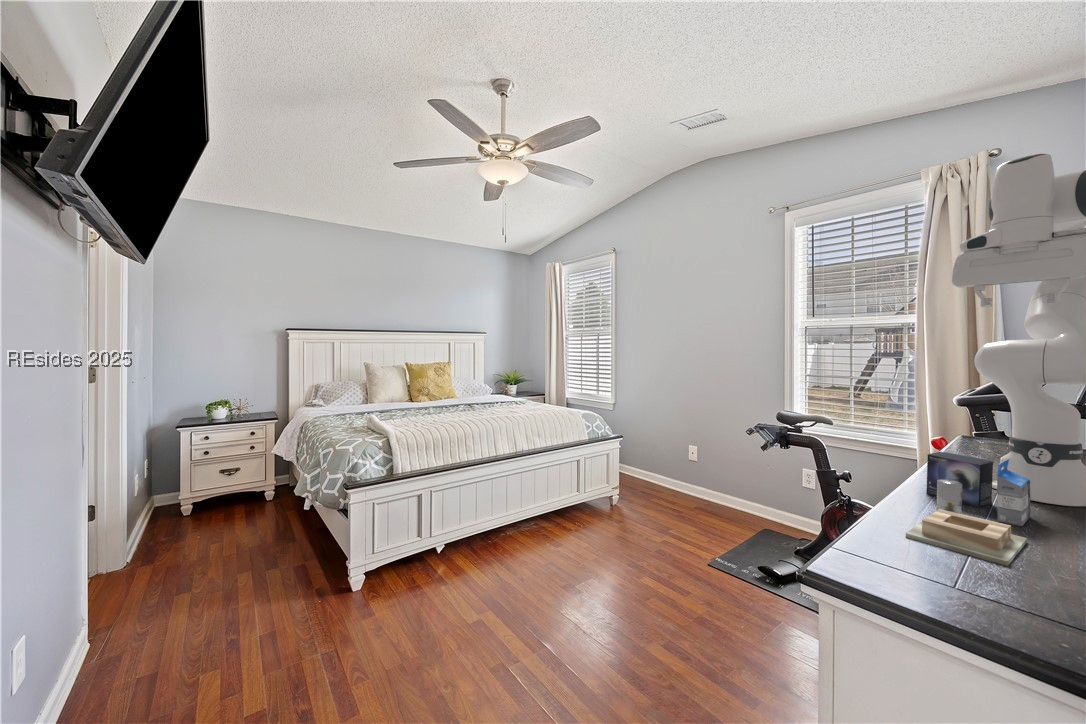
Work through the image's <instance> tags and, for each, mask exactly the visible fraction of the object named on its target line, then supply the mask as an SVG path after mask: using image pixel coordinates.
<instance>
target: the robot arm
mask: <svg viewBox="0 0 1086 724" xmlns="http://www.w3.org/2000/svg"><path fill="white" fill-rule="evenodd" d="M1052 158H1053V157H1052V156H1051V154H1049V153H1038V154H1031V155H1028V156H1027V155H1026V156H1022V157H1017V158H1014V159H1011V160H1007V161H1005V162H1003V163H1002V164H1000V165H999V166H997V167H996V170H995V174H994V177H993V178H994V179H993V182H992V189H991V198H990V199H989V207H988V209H989V210H988V213H989V214H988V216H989V219H990V221H991V223H990V227H989V228H990V229H989V230H988V231H986V232H984V233H982V234H980V235H977V236H974V237H971V238H968V239H965V240H963V241H962V242H960V245H959V249H960V251H961V253H960V254H959V255H958V256H957V257H956V258H955V260H954V263H953V268H952V273H951V274H952V275H951V282H952V285H953V286H955V287H956V288H973V292H974V293H975V294H976V296H977V297H978V299H980V307H981V308H987V307H989V308H990V307H993V303H992V302H993V298H992V297H987V296H986V295H985V294H984V293H983V292H985V291H986V286H995V285H997V286H998V285H1007V284H1009V285H1010V284H1024V283H1031V282H1032V283H1033V282H1035V283H1036V282H1039V284H1038V285H1037V287H1036V288H1035V290H1034V291H1033V293H1032V296H1031V298H1030V300H1029V302H1028V303H1029V304H1028V306H1027V310H1026V313H1025V318H1024V321H1023V329H1024V331H1025V333H1026V334H1027V335H1028V336H1029V337H1030V338H1032V339H1006V340H999V341H993V342H987V343H985V344H983V345H982V346H981V347H980V348H979V349H978V350H977V351H976V354H975V356H974V367H975V369H976V370H977V373H978V374H979V375H981V377H983V378H984V379H986V380H988V381H989V382H990V383H992V384H993V385H995V386H996V387H997V388H998V389H1000V391H1001V392H1002V393H1003V395H1004V396H1005V397H1006V399H1007V401H1008V404H1009V406H1010V412H1011V427H1012V428H1011V436H1009V440H1008V450H1009V452H1008V453H1007V454H1005V455H1003V456H1000V458H999V459H1000V460H999V464H1000V463H1002V462H1003V461H1005V460H1007V459H1010V460H1009V462H1008V467H1007V469H1008V470H1010V471H1012V472H1014V473H1016V474H1018V475H1020V476H1022V477H1025V478H1027V479H1029V480H1030V501H1035V502H1039V503H1045V504H1049V505H1051V504H1052V505H1058V506H1067V507H1086V465H1085V464H1084V463H1083V462H1082V460H1081V459H1083V453H1084V449H1083V444H1082V443H1080V442H1081V422H1082V421H1081V419H1082V418H1081V417H1082V416H1081V413H1080V412H1079V410H1078V409H1077V407H1075V406H1074V405H1072V404H1071V403H1068V402H1066V401H1064V400H1061V399H1058V398H1057V397H1055V396H1054V397H1053V396H1051V395H1049V394H1048V393H1046V392H1045V391H1044V389H1043V386H1044V385H1059V386H1060V385H1061V386H1078V387H1079V386H1081V387H1083V386H1085V387H1086V169H1083V170H1080V171H1073V172H1070V173H1065V174H1064V173H1063V174H1060V175H1055V169H1054V168H1055V167H1054V163H1053V159H1052ZM1003 468H1004V467H1002V468H1001V470H1002V469H1003ZM992 489H996V490H997V480H995V481H992Z"/></svg>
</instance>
